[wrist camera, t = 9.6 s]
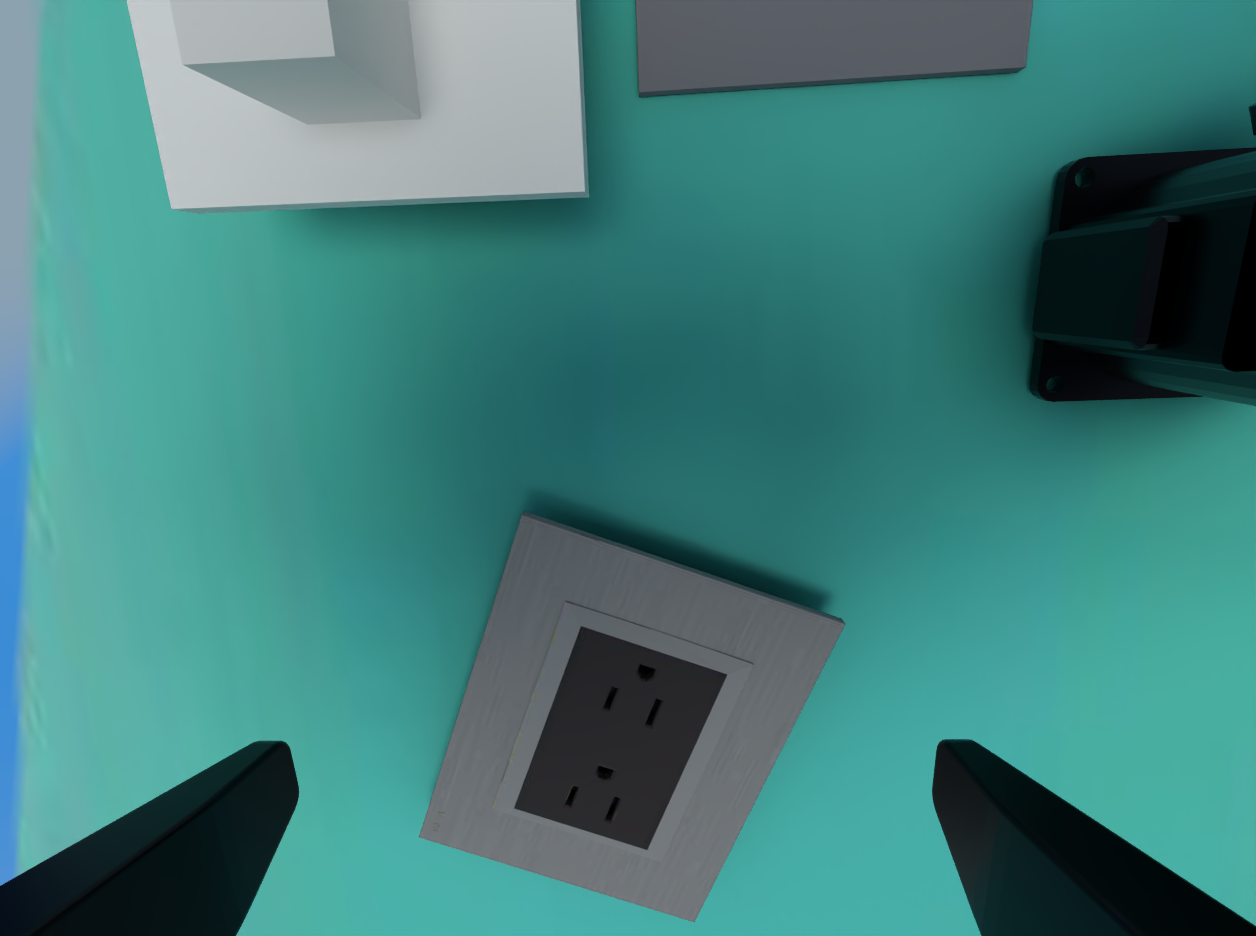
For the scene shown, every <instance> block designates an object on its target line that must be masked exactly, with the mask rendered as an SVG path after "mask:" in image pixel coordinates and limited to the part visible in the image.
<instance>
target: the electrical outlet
mask: <svg viewBox="0 0 1256 936" xmlns="http://www.w3.org/2000/svg"><path fill="white" fill-rule="evenodd" d="M844 625H845V622H844V621H843V620H842V619H841V618H838V617H835V616H832V615H829V614H826V613H823V612H820V611H817V610H814V609H812V608H809V607H806V606H803V605H800V604H797V603H794V602H791V601H788V600H785V599H782V598H779V597H776V596H773V595H770V594H767V593H764V592H761V591H759V590H756V589H753V588H750V587H747V586H744V585H741V584H738V583H735V582H732V581H729V580H726V579H723V578H720V577H717V576H714V575H711V574H708V573H706V572H703V571H700V570H697V569H694V568H691V567H688V566H685V565H682V564H679V563H676V562H673V561H670V560H667V559H664V558H661V557H658V556H655V555H652V554H650V553H647V552H644V551H641V550H638V549H635V548H632V547H629V546H626V545H623V544H620V543H617V542H614V541H611V540H608V539H605V538H602V537H599V536H597V535H594V534H591V533H588V532H585V531H582V530H579V529H576V528H573V527H570V526H567V525H564V524H561V523H558V522H555V521H552V520H549V519H546V518H544V517H541V516H538V515H535V514H532V513H529V512H526V511H524V512H523V514H522V516H521V519H520V522H519V525H518V528H517V532H516V535H515V538H514V541H513V544H512V547H511V550H510V554H509V557H508V560H507V563H506V566H505V569H504V572H503V575H502V579H501V582H500V585H499V588H498V591H497V594H496V597H495V600H494V604H493V607H492V610H491V613H490V616H489V619H488V622H487V626H486V629H485V632H484V635H483V638H482V641H481V644H480V647H479V651H478V654H477V657H476V660H475V663H474V666H473V669H472V673H471V676H470V679H469V682H468V685H467V688H466V691H465V694H464V698H463V701H462V704H461V707H460V710H459V713H458V716H457V720H456V723H455V726H454V729H453V732H452V735H451V738H450V741H449V745H448V748H447V751H446V754H445V757H444V760H443V763H442V767H441V770H440V773H439V776H438V779H437V782H436V785H435V788H434V792H433V795H432V798H431V801H430V804H429V807H428V810H427V813H426V817H425V820H424V823H423V826H422V829H421V832H420V835H419V837H420V838H423V839H426V840H430V841H433V842H436V843H439V844H443V845H446V846H449V847H452V848H456V849H459V850H462V851H465V852H468V853H472V854H475V855H478V856H481V857H485V858H488V859H491V860H494V861H498V862H501V863H504V864H507V865H511V866H514V867H517V868H520V869H524V870H527V871H530V872H533V873H537V874H540V875H543V876H546V877H549V878H553V879H556V880H559V881H562V882H566V883H569V884H572V885H575V886H579V887H582V888H585V889H588V890H592V891H595V892H598V893H601V894H605V895H608V896H611V897H614V898H617V899H621V900H624V901H627V902H630V903H634V904H637V905H640V906H643V907H647V908H650V909H653V910H656V911H660V912H663V913H666V914H669V915H673V916H676V917H679V918H682V919H686V920H689V921H692V922H695V920H696V918H697V916H698V914H699V912H700V910H701V908H702V906H703V904H704V902H705V900H706V898H707V896H708V894H709V892H710V890H711V888H712V886H713V884H714V882H715V880H716V878H717V876H718V874H719V872H720V870H721V868H722V866H723V864H724V862H725V860H726V858H727V856H728V855H729V853H730V851H731V849H732V847H733V845H734V843H735V841H736V839H737V837H738V835H739V833H740V831H741V829H742V827H743V825H744V823H745V821H746V819H747V817H748V815H749V813H750V811H751V809H752V807H753V805H754V803H755V801H756V799H757V797H758V795H759V793H760V791H761V789H762V787H763V785H764V783H765V781H766V779H767V778H768V776H769V774H770V772H771V770H772V768H773V766H774V764H775V762H776V760H777V758H778V756H779V754H780V752H781V750H782V748H783V746H784V744H785V742H786V740H787V738H788V736H789V734H790V732H791V730H792V728H793V726H794V724H795V722H796V720H797V718H798V716H799V714H800V712H801V710H802V708H803V706H804V704H805V702H806V700H807V699H808V697H809V695H810V693H811V691H812V689H813V687H814V685H815V683H816V681H817V679H818V677H819V675H820V673H821V671H822V669H823V667H824V665H825V663H826V661H827V659H828V657H829V655H830V653H831V651H832V649H833V647H834V645H835V643H836V641H837V639H838V637H839V635H840V633H841V631H842V629H843V627H844Z"/></svg>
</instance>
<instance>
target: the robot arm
mask: <svg viewBox="0 0 1256 936" xmlns="http://www.w3.org/2000/svg"><path fill="white" fill-rule="evenodd" d="M1249 111H1250V117H1251V122H1252V128H1253V134H1254V135H1256V103H1255V104H1252V105H1250V106H1249ZM1078 171H1082V172H1083V173H1084V175H1085V181H1084V184H1083V186H1082V187H1081V188H1080V187H1078V186H1077V185H1076V184H1075V176H1076V174H1077V172H1078ZM1032 330H1033V332H1034V333H1035V335H1036V339H1035V347H1034V355H1033V362H1032V370H1031V378H1030V390H1031V392H1032V393H1033V395H1034V396H1036V397H1037V398H1039V399H1043V400H1046V401H1052V402H1057V401H1087V400H1116V399H1145V398H1174V397H1203V396H1205V397H1211V398H1216V399H1221V400H1226V401H1232V402H1237V403H1242V404H1248V405H1253V406H1256V148H1239V149H1222V150H1204V151H1186V152H1168V153H1151V154H1133V155H1115V156H1097V157H1086V158H1082V159H1079V160H1076V161H1072V162H1070V163H1068V164H1067V165H1066V166H1064V167H1063V168H1062V170H1061V171H1060V172H1059V174H1058V177H1057V180H1056V186H1055V194H1054V201H1053V209H1052V217H1051V224H1050V232H1049V237H1048V238H1047V239H1046V240H1045V241H1044V243H1043V249H1042V257H1041V264H1040V272H1039V280H1038V288H1037V295H1036V303H1035V311H1034V319H1033V327H1032ZM1053 376H1055V378H1056V385H1055V387H1054V388H1053V389H1051V390H1049V391H1048V390H1047V386H1046V384H1047V382H1048V380H1049V379H1050V378H1051V377H1053ZM298 797H299V786H298V781H297V777H296V772H295V768H294V763H293V759H292V754H291V750H290V747H289V746H288V744H287V743H286V742H283V741H256V742H253V743H251V744H250V745H248V746H246V747H244V748H242V749H241V750H239V751H237V752H235V753H234V754H232V755H230V756H228V757H227V758H225V759H223V760H221V761H220V762H218V763H216V764H214V765H213V766H211V767H209V768H207V769H205V770H204V771H202V772H200V773H198V774H197V775H195V776H193V777H191V778H190V779H188V780H186V781H184V782H183V783H181V784H179V785H177V786H176V787H174V788H172V789H170V790H168V791H167V792H165V793H163V794H161V795H160V796H158V797H156V798H154V799H153V800H151V801H149V802H147V803H146V804H144V805H142V806H140V807H139V808H137V809H135V810H133V811H131V812H130V813H128V814H126V815H124V816H123V817H121V818H119V819H117V820H116V821H114V822H112V823H110V824H109V825H107V826H105V827H103V828H101V829H100V830H98V831H96V832H94V833H93V834H91V835H89V836H87V837H86V838H84V839H82V840H80V841H79V842H77V843H75V844H73V845H72V846H70V847H68V848H66V849H64V850H63V851H61V852H59V853H57V854H56V855H54V856H52V857H50V858H49V859H47V860H45V861H43V862H42V863H40V864H38V865H36V866H35V867H33V868H31V869H29V870H27V871H26V872H24V873H22V874H20V875H19V876H17V877H15V878H13V879H12V880H10V881H8V882H6V883H5V884H3V885H1V886H0V936H236V935H237V933H238V931H239V929H240V927H241V925H242V923H243V921H244V919H245V917H246V915H247V913H248V911H249V909H250V907H251V905H252V903H253V901H254V899H255V896H256V894H257V892H258V890H259V888H260V885H261V883H262V881H263V879H264V876H265V874H266V872H267V870H268V868H269V865H270V863H271V861H272V859H273V857H274V854H275V852H276V850H277V848H278V846H279V843H280V841H281V839H282V837H283V835H284V832H285V830H286V828H287V826H288V824H289V821H290V819H291V817H292V815H293V813H294V810H295V808H296V805H297V802H298ZM932 797H933V803H934V807H935V810H936V813H937V816H938V819H939V822H940V824H941V827H942V830H943V833H944V835H945V838H946V841H947V844H948V846H949V849H950V852H951V855H952V857H953V860H954V863H955V866H956V869H957V871H958V874H959V877H960V880H961V882H962V885H963V888H964V891H965V893H966V896H967V899H968V902H969V904H970V907H971V910H972V913H973V915H974V918H975V920H976V923H977V926H978V928H979V931H980V933H981V936H1256V926H1255V925H1253V924H1252V923H1250V922H1249V921H1247V920H1246V919H1244V918H1243V917H1241V916H1240V915H1238V914H1237V913H1235V912H1234V911H1232V910H1231V909H1229V908H1228V907H1226V906H1225V905H1223V904H1222V903H1220V902H1218V901H1217V900H1215V899H1214V898H1212V897H1211V896H1209V895H1208V894H1206V893H1205V892H1203V891H1202V890H1200V889H1199V888H1197V887H1196V886H1194V885H1193V884H1191V883H1190V882H1188V881H1187V880H1185V879H1184V878H1182V877H1180V876H1179V875H1177V874H1176V873H1174V872H1173V871H1171V870H1170V869H1168V868H1167V867H1165V866H1164V865H1162V864H1161V863H1159V862H1158V861H1156V860H1155V859H1153V858H1152V857H1150V856H1149V855H1147V854H1146V853H1144V852H1143V851H1141V850H1139V849H1138V848H1136V847H1135V846H1133V845H1132V844H1130V843H1129V842H1127V841H1126V840H1124V839H1123V838H1121V837H1120V836H1118V835H1117V834H1115V833H1114V832H1112V831H1111V830H1109V829H1108V828H1106V827H1105V826H1103V825H1102V824H1100V823H1098V822H1097V821H1095V820H1094V819H1092V818H1091V817H1089V816H1088V815H1086V814H1085V813H1083V812H1082V811H1080V810H1079V809H1077V808H1076V807H1074V806H1073V805H1071V804H1070V803H1068V802H1067V801H1065V800H1064V799H1062V798H1061V797H1059V796H1057V795H1056V794H1054V793H1053V792H1051V791H1050V790H1048V789H1047V788H1045V787H1044V786H1042V785H1041V784H1039V783H1038V782H1036V781H1035V780H1033V779H1032V778H1030V777H1029V776H1027V775H1026V774H1024V773H1023V772H1021V771H1019V770H1018V769H1016V768H1015V767H1013V766H1012V765H1010V764H1009V763H1007V762H1006V761H1004V760H1003V759H1001V758H1000V757H998V756H997V755H995V754H994V753H992V752H991V751H989V750H988V749H986V748H985V747H983V746H982V745H980V744H978V743H977V742H975V741H973V740H969V739H945V740H942V741H940V742H939V744H938V746H937V750H936V759H935V768H934V777H933V786H932Z"/></svg>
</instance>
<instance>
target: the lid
mask: <svg viewBox="0 0 1256 936" xmlns="http://www.w3.org/2000/svg"><path fill="white" fill-rule="evenodd" d="M127 4H128V8H129V13H130V18H131V22H132V27H133V32H134V36H135V41H136V46H137V50H138V55H139V60H140V64H141V69H142V73H143V78H144V83H145V87H146V92H147V97H148V101H149V106H150V111H151V115H152V120H153V125H154V129H155V134H156V139H157V143H158V148H159V153H160V157H161V162H162V167H163V171H164V176H165V181H166V185H167V190H168V195H169V199H170V204H171V209H174V210H180V211H186V212H192V213H197V214H200V213H224V212H248V211H272V210H296V209H320V208H343V207H367V206H391V205H415V204H439V203H463V202H486V201H510V200H534V199H558V198H582V197H589V183H588V161H587V139H586V117H585V95H584V72H583V50H582V28H581V6H580V0H127Z"/></svg>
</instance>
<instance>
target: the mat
mask: <svg viewBox="0 0 1256 936" xmlns="http://www.w3.org/2000/svg"><path fill="white" fill-rule="evenodd" d="M1032 7H1033V0H636V20H637V49H638V78H639V97H643V96H659V95H674V94H690V93H705V92H721V91H736V90H752V89H767V88H783V87H798V86H814V85H829V84H845V83H860V82H876V81H891V80H907V79H923V78H938V77H954V76H969V75H985V74H1000V73H1016V72H1019V71H1020V70H1022V69H1023V68H1025V67H1026V60H1027V51H1028V42H1029V34H1030V25H1031V16H1032Z"/></svg>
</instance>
